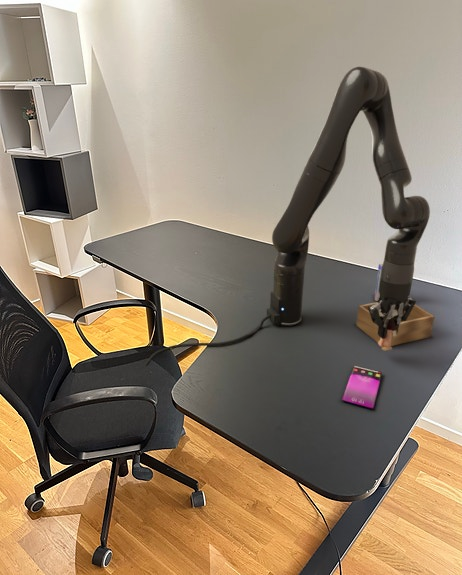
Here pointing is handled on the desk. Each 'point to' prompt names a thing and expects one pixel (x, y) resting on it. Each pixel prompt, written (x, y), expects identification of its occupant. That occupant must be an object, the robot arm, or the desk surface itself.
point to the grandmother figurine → (389, 333)
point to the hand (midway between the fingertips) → (387, 335)
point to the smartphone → (362, 387)
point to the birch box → (408, 330)
